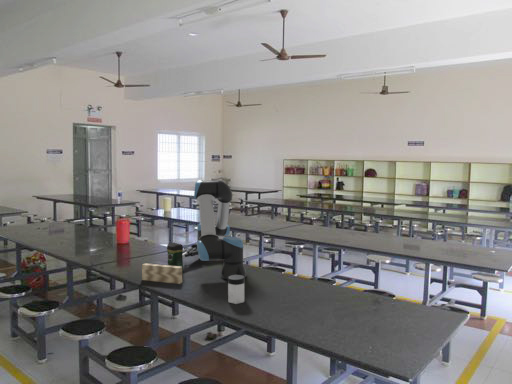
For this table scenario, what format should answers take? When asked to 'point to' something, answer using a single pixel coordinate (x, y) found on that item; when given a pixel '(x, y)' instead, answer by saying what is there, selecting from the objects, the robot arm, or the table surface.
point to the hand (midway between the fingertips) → (181, 256)
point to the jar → (236, 289)
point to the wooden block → (162, 273)
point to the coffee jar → (175, 255)
